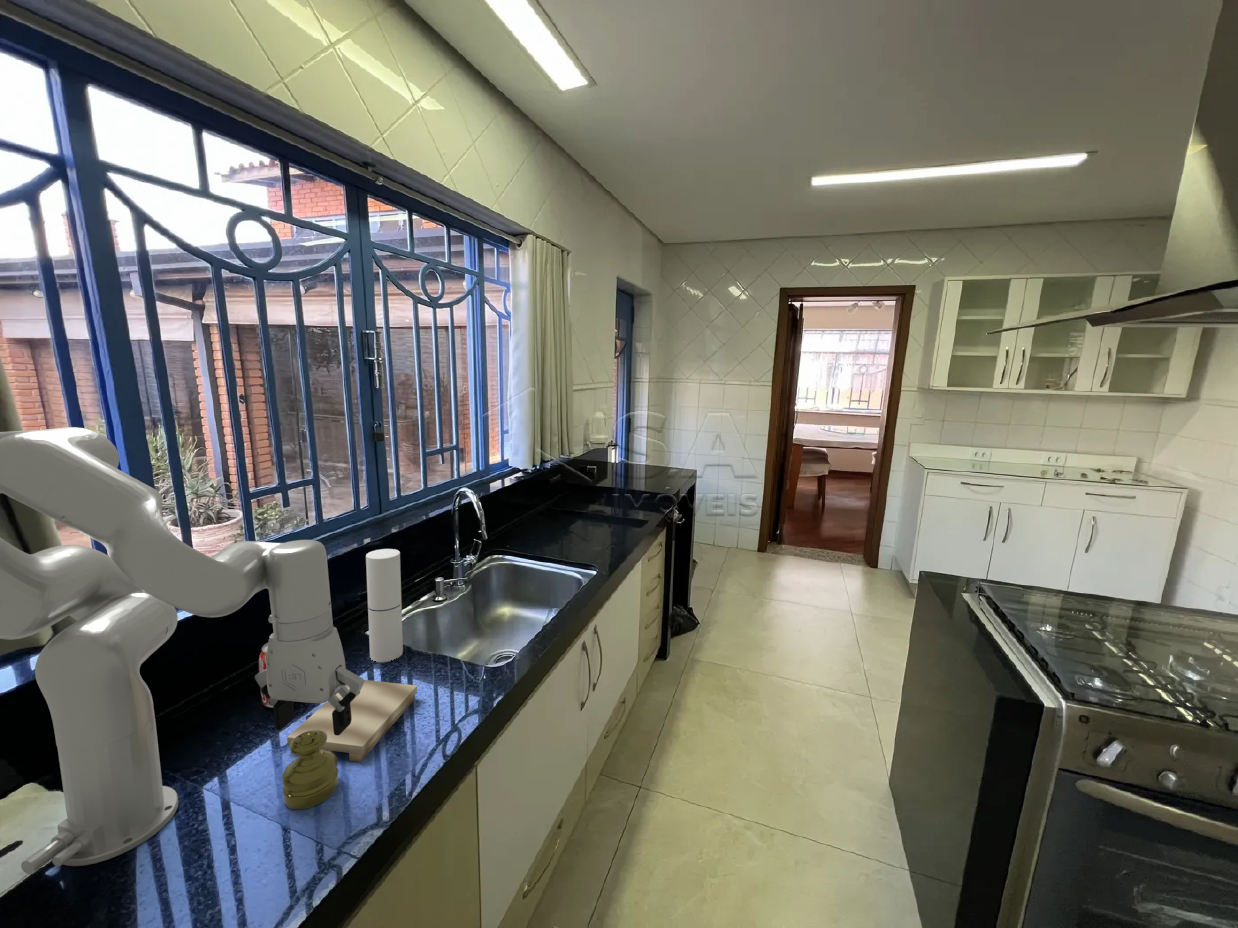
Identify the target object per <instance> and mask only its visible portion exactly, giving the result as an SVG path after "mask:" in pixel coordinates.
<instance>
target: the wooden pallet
mask: <svg viewBox="0 0 1238 928" xmlns="http://www.w3.org/2000/svg"><path fill="white" fill-rule="evenodd" d="M345 687H346V688H347V689H348V690H349V689H350V687H349V686H348V685H346V684H345ZM417 693H418V685H415V684H414V685H413V684H406V683H398V682H397V683H395V682H386V681H380V680H379V681H377V680H370V679H364V684H363V686H362V688H361V690H360V693H359V695H358V696H357V697H356V698H354V699H353V700H352V701H351V702H350V706H351V717H352V720H351V723H350V725H349V726H348V727H347V728H346V729H345V730H344V731H343V732H342V733H341V734H340V735H339V736H338V735H335V734H334V730H333V719H332V712H333V711H334V710H335V708H334V707H333V706H332V705H331V704H330V703H329V702H328V701H326V702H324V704H323V705H322V706H321V707H320V708H318V709H317V710H316V711H315V712H314V713H313V714H312V715H311V716H310V717H308V718H307V719H306V720H305V721H303V723H302V724H300V725H299V726H298V727H297V728H296V729H294V731H292V732H291V733H290V734H289V735H288V736H287V737H286V742H287V746H290V743H291V742H292V741H293V739H295V738H296V737H297V736H299V735H300V734H302V733H304V732H307V731H311V730H322V731H324V732H326V734H327V740H326V742H325V744H324V745H323V746H322V747H321V748H319V749H320V750H326V751H330V752H332V753H334V754H335V755H336V753H337V752H340V753H341V752H342V753H348V755H349V761H352V762H358V763H361V762H362V761H363V760H364V758H366V757H367V755H368V754H369V753H370V752H371V751H372V749H373V748H374V747H375V746H376V744H378V742H379V741H380V740H381V739H382V738H383V737H384V735H386V734H387V732H388V731H389V730H390V729H391V728H392V726H393V725H394V724H395V723H396V721H398V720H399V718H400V717H401V716H402V715H403V713H404V712H405V711H406V710H407V709H408V708H409V707H410V705H412V703H413V702H414V701H415V700H416V694H417ZM335 695H336V696H337V697H338V698H339V699H340V700H342V699H343V697H342V696H341V695H340V694H339V693H338V692H336V693H335ZM290 754H293V753H292V752H291V751H290Z"/></svg>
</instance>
